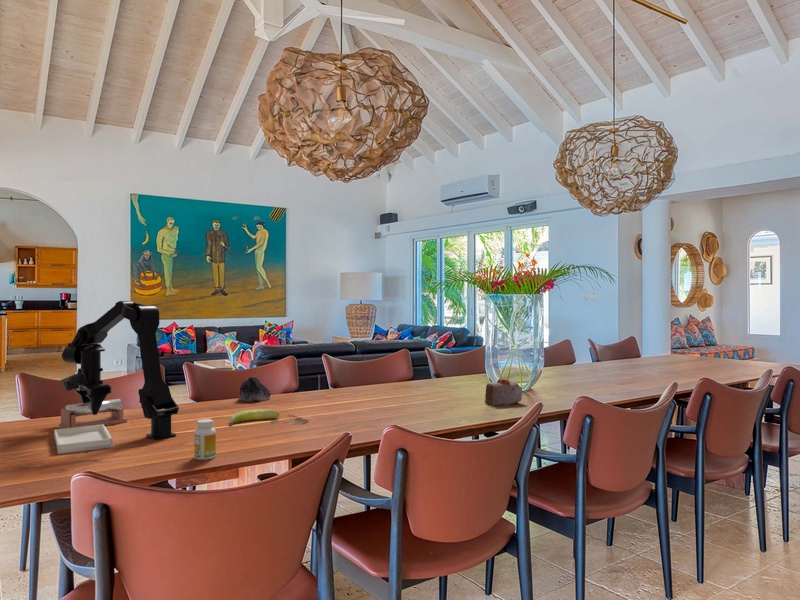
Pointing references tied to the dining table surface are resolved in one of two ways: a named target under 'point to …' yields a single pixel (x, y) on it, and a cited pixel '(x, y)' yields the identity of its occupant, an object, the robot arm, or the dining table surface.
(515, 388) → the food item
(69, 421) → the hitch bracket
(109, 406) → the pin
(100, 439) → the tray
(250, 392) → the dark grey rough lump
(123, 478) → the dining table surface
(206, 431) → the supplement bottle
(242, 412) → the unripe green banana
